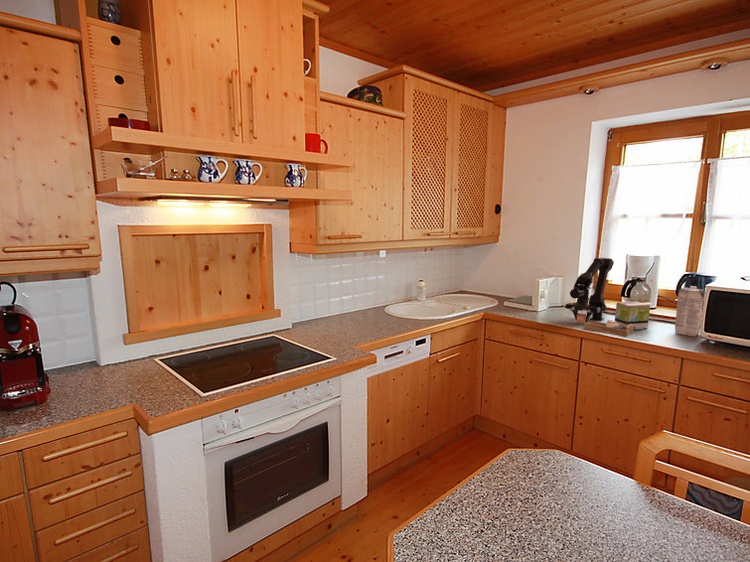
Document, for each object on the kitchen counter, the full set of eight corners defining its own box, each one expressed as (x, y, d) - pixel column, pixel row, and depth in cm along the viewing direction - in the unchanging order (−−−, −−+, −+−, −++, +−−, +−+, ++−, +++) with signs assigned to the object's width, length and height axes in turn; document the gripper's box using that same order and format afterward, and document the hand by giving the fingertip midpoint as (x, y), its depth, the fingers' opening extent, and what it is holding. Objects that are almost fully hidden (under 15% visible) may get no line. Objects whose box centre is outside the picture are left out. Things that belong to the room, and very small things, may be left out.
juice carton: (695, 337, 226) (701, 288, 222) (672, 333, 234) (677, 286, 230) (700, 335, 231) (706, 286, 227) (678, 330, 239) (684, 284, 235)
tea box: (627, 330, 240) (630, 305, 238) (613, 326, 250) (615, 302, 248) (648, 328, 244) (650, 304, 242) (633, 324, 254) (635, 300, 251)
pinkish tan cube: (578, 321, 260) (579, 312, 259) (587, 323, 256) (588, 314, 255) (574, 323, 256) (575, 314, 256) (584, 325, 253) (585, 315, 252)
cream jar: (607, 329, 243) (608, 319, 242) (617, 331, 239) (618, 321, 238) (604, 331, 239) (605, 321, 238) (614, 333, 235) (615, 322, 234)
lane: (590, 325, 252) (590, 317, 251) (632, 332, 236) (633, 324, 235) (584, 328, 245) (584, 320, 244) (627, 336, 229) (628, 327, 228)
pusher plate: (618, 330, 239) (619, 323, 239) (623, 331, 238) (624, 324, 237) (615, 333, 235) (615, 325, 234) (620, 334, 233) (620, 326, 232)
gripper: (562, 296, 255) (560, 321, 257) (595, 300, 242) (592, 326, 244) (569, 293, 263) (567, 318, 265) (601, 298, 249) (599, 323, 252)
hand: (581, 321), depth 256 cm, fingers closed on pinkish tan cube, 5 cm apart
